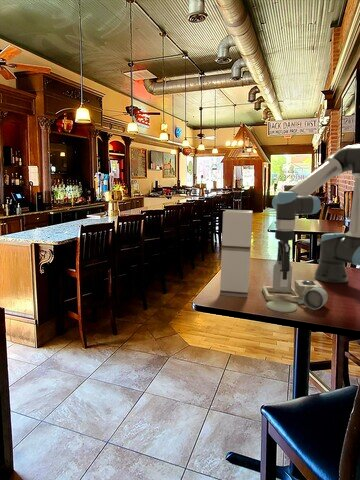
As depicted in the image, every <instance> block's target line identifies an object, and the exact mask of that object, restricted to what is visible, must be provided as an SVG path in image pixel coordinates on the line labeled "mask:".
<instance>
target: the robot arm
mask: <svg viewBox="0 0 360 480" xmlns="http://www.w3.org/2000/svg"><path fill="white" fill-rule="evenodd" d="M349 171H351V176H353V178H354V183H353V195H352V202H351V211H350V220H349V228H348V231H347V232H345V233H343V232H340V233H338V232H337V233H335V232H334V233H332V232H331V233H323V234H322V236H321V240H320V250H319V262H318V265H317V268H316V269H315V272H314V279H316V281H319V282H325V283H332V284H333V283H334V284H342V283H347V282H348V274H347V269H346V263H347V264H352V265H355V266H359V267H360V144H351V145H347V146H344V147H341V148H340V149H339V150H337V151H336V152H334V153H332V154H330V156H328V157H327V158H326V159H325V160H324V163H323V164H321V165H320V166H319V167H317V168H316V169H315V170H313V171H312V172H311V173H310V174H308V175H307V176H305V177H304V178H303V179H301V180H300V181H299V182H298V183H297V184H295V185H294V186H292V187H291V188H290V189H288V190H287V191H279V192H278V193H277V194H276V195H275V196H274V197H273V198H272V200H271V201H272V202H271V206H272V208H273V209H274V210H275V211H276V213H275V221H274V224H275V229H276V230H275V232H274V238H275V240H278V241H277V257H276V261H282V270H280V272H281V280H280V287H287V283H288V271H290V263H291V261H290V260H291V259H290V258H291V248H292V247H291V244H290V242H289V241H293V240H295V228H296V215H309V216H310V215H314V214H318V212H319V211H320V210H321V200H320V198H319V197H317V196H315V195H313V196H312V194H313V193H314V192H316V191H317V190H318V189H319V188H321V187H322V186H323V185H325V184H326V183H328V182H329V181H330V180H331V179H333V178H334V177H337V176H340V175H341V174H343V173H345V172H349Z"/></svg>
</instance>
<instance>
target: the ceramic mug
mask: <svg viewBox="0 0 360 480" xmlns="http://www.w3.org/2000/svg"><path fill="white" fill-rule="evenodd" d="M328 299H329V295H328V292H327V291H326V289H324V287H323V288H320V287H315V288H312V289H310V290H308V291H307V292H305V294H304V296H303V298H301V299H298V300H297V301H298V302H297V303H298V305H302V304H303V305H304V306H305V307H307V308H308V309H310V310H313V311H314V310H315V311H316V310H319V309H321V308H322V307H323V306H325V304H326V303H327V302H328Z"/></svg>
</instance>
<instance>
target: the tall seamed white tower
mask: <svg viewBox="0 0 360 480" xmlns="http://www.w3.org/2000/svg"><path fill="white" fill-rule="evenodd" d="M253 212H254V211H253V210H245V209H244V210H243V209H242V210H240V209H239V210H238V209H225V210H224V211H223V212H222V233H221V253H220V254H221V256H220V280H219V281H220V282H219V283H220V285H219V286H220V287H219V296H225V297H226V296H228V297H237V298H239V297H240V298H241V297H242V298H248V297H249V289H250V287H249V286H250V267H251V266H250V265H251V251H252V249H251V248H252V247H251V244H252V227H253Z"/></svg>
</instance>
